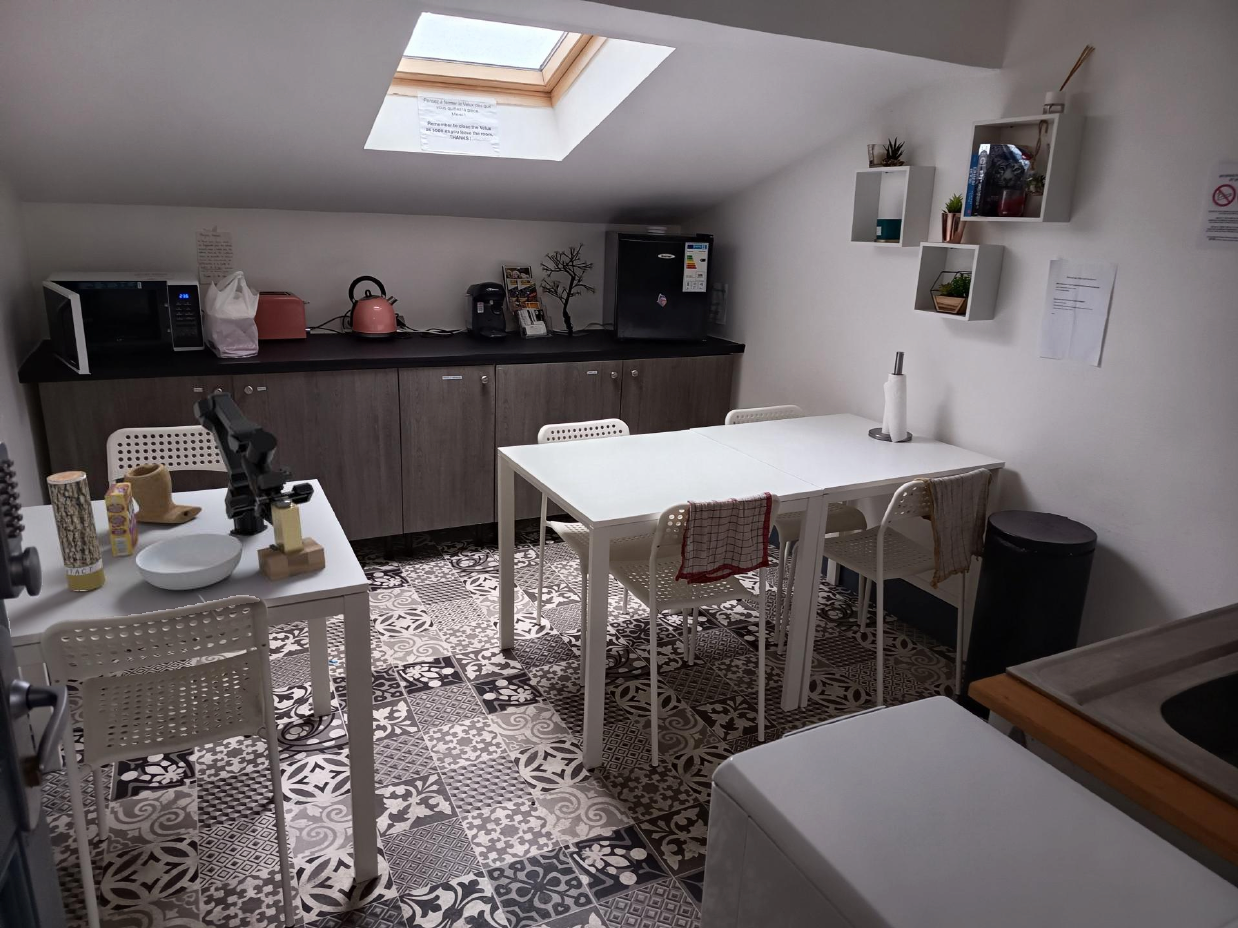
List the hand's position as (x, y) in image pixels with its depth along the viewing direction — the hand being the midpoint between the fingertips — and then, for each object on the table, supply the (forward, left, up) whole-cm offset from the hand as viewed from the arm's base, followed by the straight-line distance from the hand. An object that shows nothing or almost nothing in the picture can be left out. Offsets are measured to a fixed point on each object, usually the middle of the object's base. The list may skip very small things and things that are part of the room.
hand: (282, 532), depth 191 cm
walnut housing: (+3, -2, -8) cm, 8 cm away
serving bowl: (-13, -14, -8) cm, 21 cm away
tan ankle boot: (-46, +11, -8) cm, 48 cm away
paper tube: (-32, -24, -8) cm, 41 cm away
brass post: (+3, -2, -7) cm, 8 cm away
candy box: (-40, -6, -8) cm, 41 cm away
